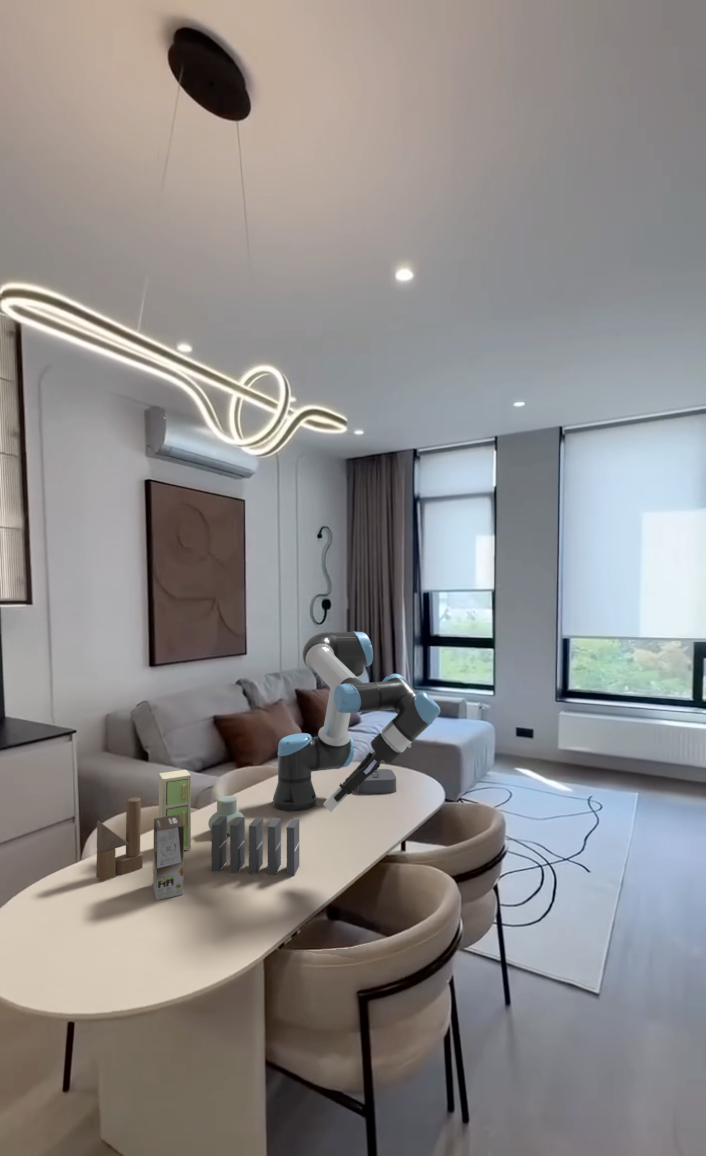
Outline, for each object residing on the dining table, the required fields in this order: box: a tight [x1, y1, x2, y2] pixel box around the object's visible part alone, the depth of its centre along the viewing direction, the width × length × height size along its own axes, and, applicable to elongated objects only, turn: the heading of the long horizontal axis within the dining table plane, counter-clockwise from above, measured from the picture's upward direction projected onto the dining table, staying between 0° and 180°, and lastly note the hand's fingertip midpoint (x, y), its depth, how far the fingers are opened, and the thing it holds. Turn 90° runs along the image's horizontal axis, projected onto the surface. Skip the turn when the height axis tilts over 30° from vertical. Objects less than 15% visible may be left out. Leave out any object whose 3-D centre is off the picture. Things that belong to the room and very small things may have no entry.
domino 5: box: [286, 818, 300, 877], centre depth 148 cm, size 2×6×12 cm, turn 173°
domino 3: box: [248, 817, 264, 875], centre depth 150 cm, size 2×6×12 cm, turn 173°
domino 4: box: [267, 817, 282, 876], centre depth 149 cm, size 2×6×12 cm, turn 173°
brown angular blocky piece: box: [95, 796, 143, 882], centre depth 148 cm, size 4×11×18 cm, turn 135°
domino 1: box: [210, 816, 228, 873], centre depth 151 cm, size 2×6×12 cm, turn 173°
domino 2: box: [229, 816, 246, 874], centre depth 150 cm, size 2×6×12 cm, turn 173°
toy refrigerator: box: [158, 769, 192, 851], centre depth 163 cm, size 8×7×21 cm
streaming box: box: [356, 768, 397, 795], centre depth 217 cm, size 14×14×5 cm
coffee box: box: [152, 815, 185, 901], centre depth 139 cm, size 9×6×16 cm
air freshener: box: [207, 795, 245, 836], centre depth 175 cm, size 11×8×10 cm
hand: (327, 807), depth 148 cm, fingers closed
